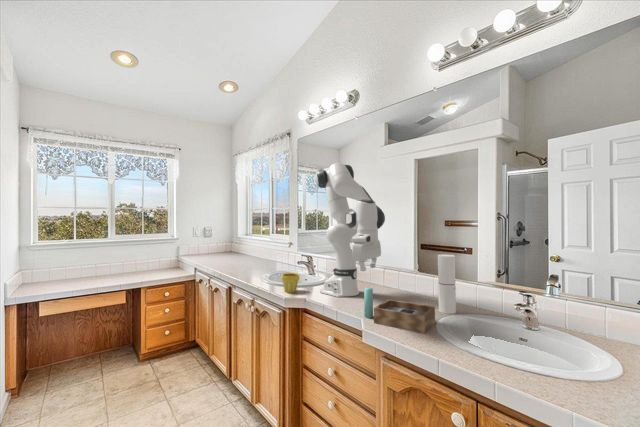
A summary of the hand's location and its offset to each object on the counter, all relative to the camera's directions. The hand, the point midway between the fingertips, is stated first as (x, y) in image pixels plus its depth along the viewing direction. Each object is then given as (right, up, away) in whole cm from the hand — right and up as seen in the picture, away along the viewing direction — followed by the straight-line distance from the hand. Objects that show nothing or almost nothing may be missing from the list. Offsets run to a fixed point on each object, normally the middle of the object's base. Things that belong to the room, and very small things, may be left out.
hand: (368, 269), depth 129 cm
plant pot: (-38, -22, +46) cm, 64 cm away
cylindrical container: (+36, -20, +6) cm, 42 cm away
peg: (0, -20, 0) cm, 20 cm away
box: (+14, -20, -7) cm, 25 cm away
